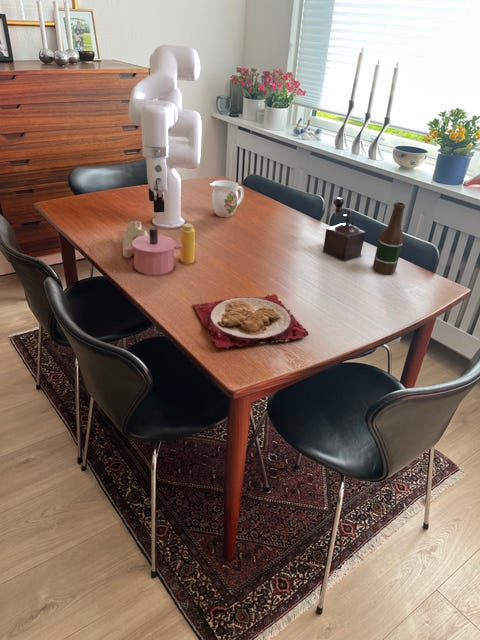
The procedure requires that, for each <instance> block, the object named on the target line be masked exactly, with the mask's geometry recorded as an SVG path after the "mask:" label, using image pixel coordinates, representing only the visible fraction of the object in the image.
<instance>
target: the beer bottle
mask: <svg viewBox="0 0 480 640" xmlns="http://www.w3.org/2000/svg"><path fill="white" fill-rule="evenodd" d="M405 208H406V204H405V203H403V202H400V201H399V202H398V201H397V202H394V203H393V209H392V212H391V216H390V219H389V222H388V224H387V226H386V227H385V228H384V229H383V230H382V231H381V233H380V235H379V238H378V242H377V246H376V251H375V255H374V259H373V264H372V269H373V270H374V272H375V273H377V274H380V275H383V276H392V275H393V274H394V273H396V269H397V266H398V263H399V259H400V254H401V251H402V247H403V244H404V233H403V230H402V222H403V216H404V211H405Z"/></svg>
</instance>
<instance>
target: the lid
mask: <svg viewBox="0 0 480 640" xmlns="http://www.w3.org/2000/svg"><path fill="white" fill-rule="evenodd" d="M175 244H176V241H175V240H174V239H173V238H172V237H170V236H166V235H161V234H159V228H158V227H157V226H156V227H155V226H151V227H149V229H148V235H144V236H140V237H137V238H135V239H134V240H133V241H132V246H133V248H135V249H136V250H138V251H141V252H146V253H163V252H167V251H170V250H172V249H173V248H174V247H175Z"/></svg>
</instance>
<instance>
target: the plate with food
mask: <svg viewBox="0 0 480 640" xmlns="http://www.w3.org/2000/svg"><path fill="white" fill-rule="evenodd" d="M192 307H193V308H194V310H195V311H196V313H197V316H198V317H199V319H200V321H201V323H202V325H203V327H204V328H206V329H208V330H209V331H210V334H209V337H210V340H211V341H212V343H214V344H215V347H216V348H221V349H223V348H226V349H229V348H230V347H234V346H237V347H238V348H243V347H244V346H247V345H248V346H249V345H257V344H262V345H263V344H266V342H265V341H259V340H263V339H269V338H274V340H272V341H271V343H272V344H275V345H276V344H277V343H278V342H283V343H284V342H285V343H286V342H287V343H288V342H290V341H294V340H297V339H301V338H302V339H303V338H305V337H308V336H309V335H310V333H309V331H308V330H306V328H305V327H304V326H303V325H302V324H301V322H299V321H298V320H297V319H296V317H294V314H290V311H291V310H290V309H287V308H286V306H285V304H283V303H282V300H279V297H278V295H277V294H275V293H273V294H268V295H266V296H265V297H253V296H250V297H249V296H248V297H243V296H241V297H240V296H235V297H233V298H227V299H223V300H222V299H220V300H216V301H214V302H205V303H201V304H199V303H198V304H192Z"/></svg>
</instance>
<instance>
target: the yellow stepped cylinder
mask: <svg viewBox="0 0 480 640" xmlns="http://www.w3.org/2000/svg"><path fill="white" fill-rule="evenodd" d="M195 238H196V229H195V228H194V225H193V224H192V223H184V224H183V225H182V227H181V228H180V244H181V245H182V249H180V253H179V254H180V255H179V256H180V258H179V260H180V262H181V263H183V264H191V263H194V262H195V247H196V246H195V241H196V239H195Z"/></svg>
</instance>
